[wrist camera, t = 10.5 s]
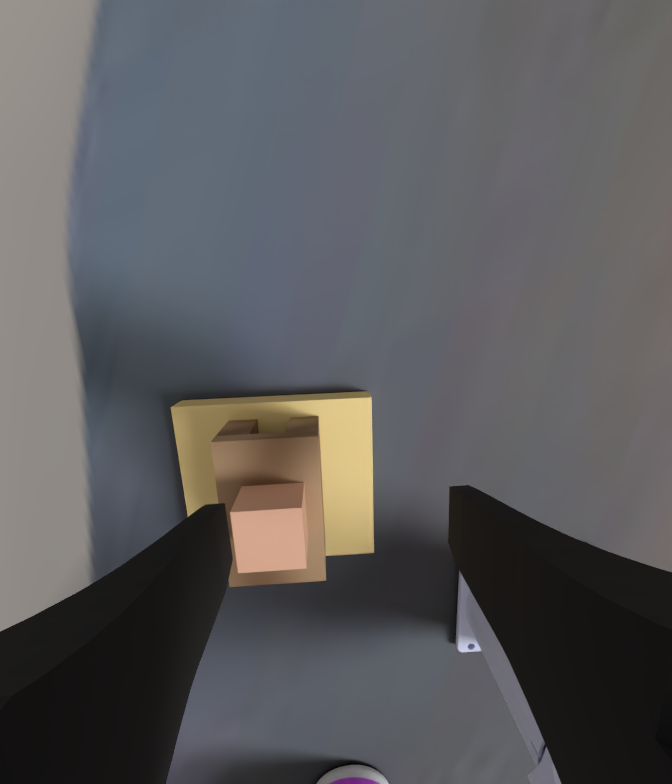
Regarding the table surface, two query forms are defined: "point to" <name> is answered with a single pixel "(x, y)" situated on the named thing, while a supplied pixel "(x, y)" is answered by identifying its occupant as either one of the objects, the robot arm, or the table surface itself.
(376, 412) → the table surface
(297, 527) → the salmon pink square block
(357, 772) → the supplement bottle
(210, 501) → the plate
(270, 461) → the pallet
